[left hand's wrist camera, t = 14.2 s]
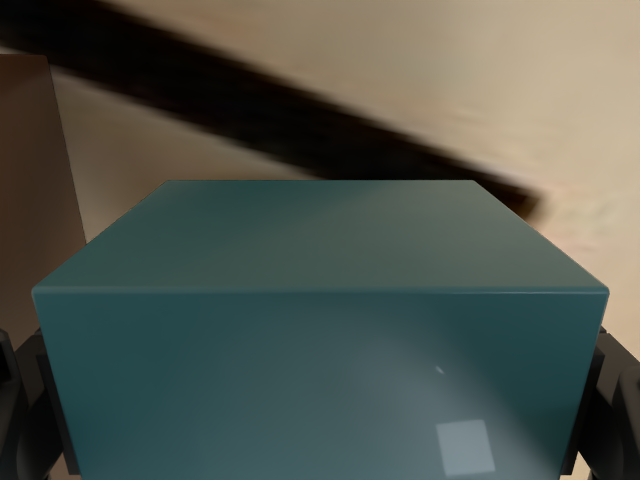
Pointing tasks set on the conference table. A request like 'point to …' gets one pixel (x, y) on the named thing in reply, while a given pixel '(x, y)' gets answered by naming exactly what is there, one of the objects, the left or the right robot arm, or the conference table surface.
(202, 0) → the conference table surface
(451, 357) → the cap block
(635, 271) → the conference table surface
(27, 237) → the tall bronze post
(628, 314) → the conference table surface
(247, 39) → the conference table surface
